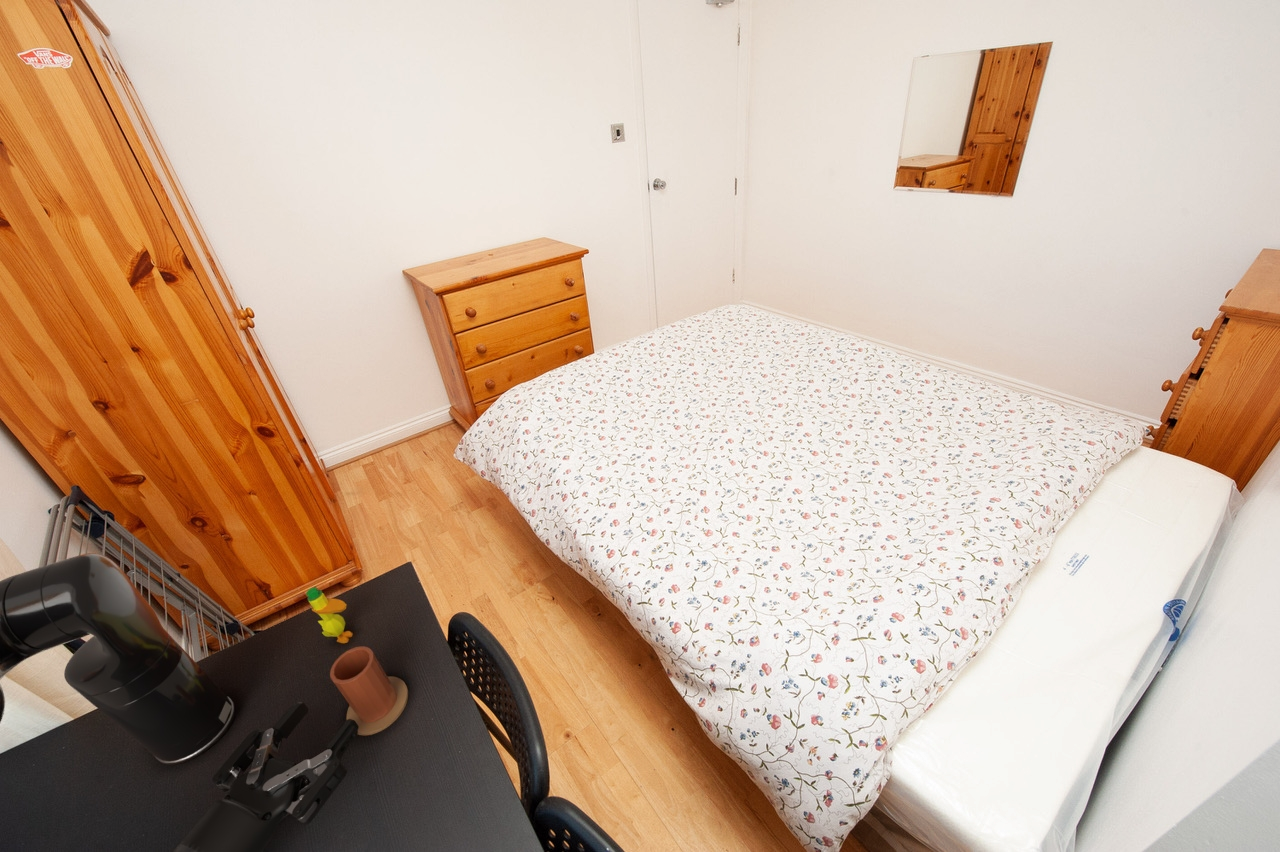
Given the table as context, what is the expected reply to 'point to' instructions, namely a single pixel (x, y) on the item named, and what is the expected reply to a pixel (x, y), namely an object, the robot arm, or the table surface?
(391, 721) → the trivet
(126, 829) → the table surface
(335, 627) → the toy figure
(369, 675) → the pot
